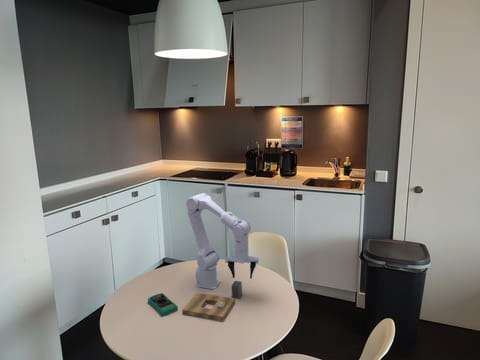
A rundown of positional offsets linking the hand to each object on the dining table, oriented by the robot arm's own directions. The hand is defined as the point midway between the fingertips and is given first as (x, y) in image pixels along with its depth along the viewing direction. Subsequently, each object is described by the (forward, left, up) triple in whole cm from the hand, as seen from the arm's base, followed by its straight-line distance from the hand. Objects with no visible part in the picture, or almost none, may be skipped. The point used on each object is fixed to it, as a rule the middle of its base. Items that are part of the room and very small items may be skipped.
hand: (242, 277), depth 160 cm
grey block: (-2, -1, -9) cm, 9 cm away
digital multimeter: (-30, -18, -9) cm, 37 cm away
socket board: (-10, -14, -9) cm, 20 cm away
